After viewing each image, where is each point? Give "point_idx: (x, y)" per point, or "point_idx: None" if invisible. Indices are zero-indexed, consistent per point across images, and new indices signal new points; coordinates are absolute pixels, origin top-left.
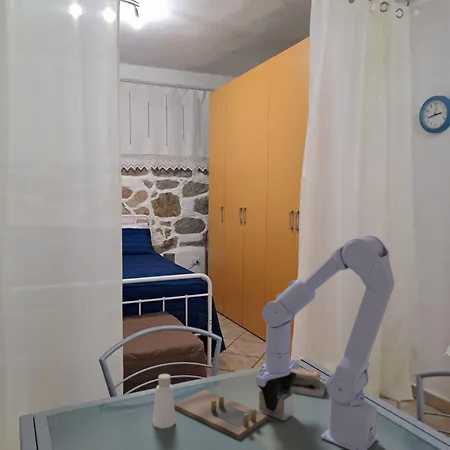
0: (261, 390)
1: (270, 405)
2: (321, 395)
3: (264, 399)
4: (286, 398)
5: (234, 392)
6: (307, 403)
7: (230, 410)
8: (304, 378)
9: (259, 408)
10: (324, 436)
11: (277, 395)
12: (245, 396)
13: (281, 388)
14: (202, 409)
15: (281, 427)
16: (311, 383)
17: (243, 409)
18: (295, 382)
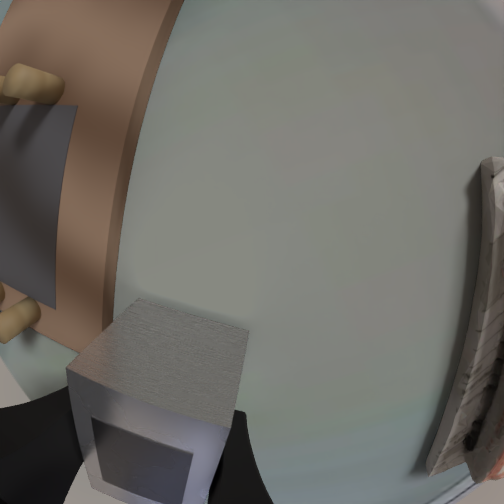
0: (9, 407)
1: None
2: (426, 467)
3: (65, 387)
4: (113, 496)
5: (326, 40)
6: (359, 452)
7: (38, 159)
8: (498, 440)
9: (131, 307)
10: None
11: (74, 476)
12: (309, 126)
13: (215, 490)
14: (17, 47)
15: None
16: (479, 450)
17: (76, 219)
18: (502, 389)
